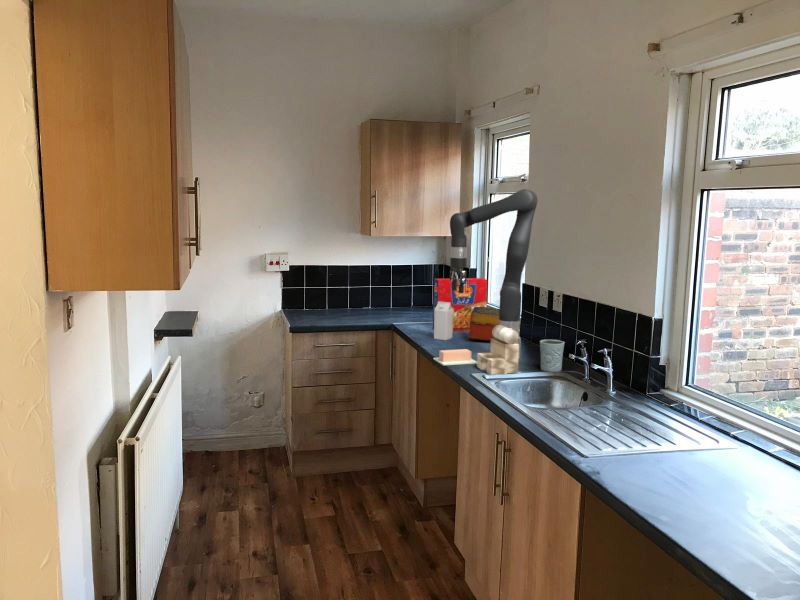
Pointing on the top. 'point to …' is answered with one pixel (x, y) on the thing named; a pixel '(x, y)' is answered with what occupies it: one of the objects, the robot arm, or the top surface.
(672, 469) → the top surface
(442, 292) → the pasta box
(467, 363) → the mat
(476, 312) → the decorative box
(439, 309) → the milk carton
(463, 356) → the peach rectangular slab
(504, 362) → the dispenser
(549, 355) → the grey green plant pot
